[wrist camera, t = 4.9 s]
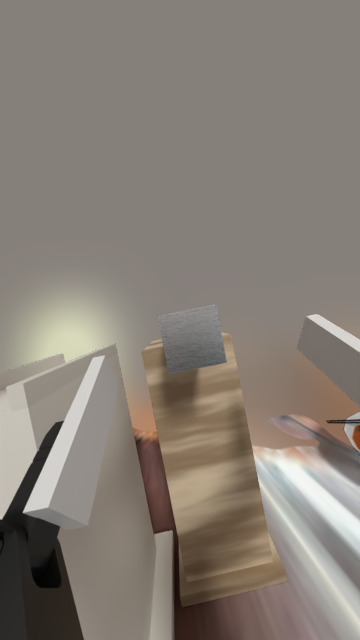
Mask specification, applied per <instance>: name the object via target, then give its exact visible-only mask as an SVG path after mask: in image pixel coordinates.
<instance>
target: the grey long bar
mask: <svg viewBox="0 0 360 640" xmlns="http://www.w3.org/2000/svg"><path fill="white" fill-rule="evenodd" d="M158 322H159V327H160V332H161V337H162V342H163V347H164V352H165V358H166V363H167V368H168V373H169V374H173V373H178V372H183V371H188V370H193V369H198V368H203V367H208V366H213V365H218V364H223V363H227V360H226V355H225V349H224V344H223V339H222V333H221V328H220V323H219V318H218V312H217V307H216V305H210V306H205V307H200V308H195V309H190V310H184V311H179V312H174V313H169V314H163V315H158Z"/></svg>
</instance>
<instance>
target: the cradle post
mask: <svg viewBox="0 0 360 640" xmlns="http://www.w3.org/2000/svg"><path fill="white" fill-rule="evenodd" d="M104 355H105V356H106V358H107V360H108V362H109V364H110V366H111V368H112V370H113V372H114V374H115V375H116V377H117V379H118V381H119V383H120V384H119V388H118V393H117V397H116V402H115V406H114V411H113V415H112V420H111V424H110V429H109V433H108V438H107V442H106V447H105V451H104V456H103V460H102V465H101V469H100V474H99V478H98V482H97V487H96V491H95V496H94V500H93V505H92V509H91V514H90V518H89V523H88V526H85V527H80V528H75V529H71V530H67V529H64V528H61V527H60V530H59V533H58V536H57V538H58V540H59V542H60V545H61V549H62V553H63V557H64V561H65V565H66V569H67V573H68V577H69V581H70V585H71V589H72V593H73V597H74V601H75V605H76V609H77V613H78V617H79V621H80V625H81V629H82V633H83V637H84V640H174V535H173V530H170V531H166V532H162V533H157V534H153V529H152V524H151V519H150V514H149V509H148V504H147V499H146V494H145V489H144V484H143V479H142V474H141V469H140V464H139V459H138V454H137V449H136V444H135V439H134V433H133V428H132V424H131V419H130V413H129V409H128V404H127V398H126V394H125V389H124V384H123V378H122V374H121V368H120V364H119V359H118V354H117V348H116V344H110V345H107V346H105V347H102V348H100V349H97V350H95V351H92V352H90V353H88V354H85V355H83V356H80V357H78V358H75V359H73V360H71V361H68V362H66V363H65V360H64V356H63V354H59V355H55V356H52V357H48V358H45V359H42V360H39V361H36V362H32V363H30V364H26V365H23V366H20V367H17V368H14V369H10V370H7V371H4V372H1V373H0V519H1V520H2V518H3V517H4V515H5V513H6V512H7V510H8V508H9V506H10V504H11V502H12V500H13V498H14V496H15V494H16V492H17V490H18V488H19V486H20V484H21V482H22V480H23V478H24V476H25V474H26V472H27V470H28V468H29V467H30V465H31V463H33V459H34V457H35V455H36V453H37V451H39V447H40V445H41V443H42V441H43V439H44V437H45V435H46V434H47V433H48V431H49V430H50V429H51V428H52V426H53V425H54V424H55V423H56V422H60V421H64V420H65V418H66V416H67V414H68V412H69V409H70V407H71V405H72V403H73V401H74V398H75V396H76V394H77V392H78V390H79V387H80V385H81V383H82V381H83V379H84V376H85V374H86V372H87V370H88V368H89V365H90V363H91V361H92V359H93V358H94V357H99V356H104Z"/></svg>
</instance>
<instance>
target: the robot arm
mask: <svg viewBox="0 0 360 640" xmlns="http://www.w3.org/2000/svg"><path fill="white" fill-rule="evenodd" d="M297 349H298V350H299V351H300V352H301V353H302V354H303V355H305V356H306V357H307V358H308V359H309V360H310V361H311V362H312V363H313V364H314V365H315V366H316V367H317V368H318V369H320V370H321V371H322V372H323V373H324V374H325V375H326V376H327V377H328V378H329V379H330V380H331V381H333V382H334V384H335V385H337V386H338V387H339V388H340V389H341V390H342V391H343V392H344V393H345V394H346V395H347V396H348V397H349V398H350V399H351V400H353V401H354V402H355V403H356V404H357V405H358V406H359V407H360V340H359V339H358V338H356V337H354V336H353V335H351V334H349V333H348V332H346V331H344V330H343V329H341V328H339V327H338V326H336V325H334V324H333V323H331V322H329V321H328V320H326V319H324V318H323V317H321V316H320V315H318V314H315V315H310V316H306V317H305V321H304V325H303V328H302V332H301V335H300V339H299V343H298V346H297ZM119 384H120V383H119V381H118V379H117V377H116V375H115V374H114V372H113V370H112V368H111V366H110V364H109V362H108V360H107V358H106V356H105V355H104V356H99V357H94V358H93V359H92V361H91V363H90V365H89V368H88V370H87V372H86V374H85V376H84V379H83V381H82V383H81V385H80V387H79V390H78V392H77V394H76V396H75V398H74V401H73V403H72V405H71V407H70V409H69V412H68V414H67V416H66V418H65V420H64V421H60V422H56V423H55V424H54V425H53V426H52V428H51V429H50V430H49V431H48V433H47V434H46V435H45V437H44V439H43V441H42V443H41V445H40V447H39V451H37V453H36V455H35V457H34V459H33V463H31V465H30V467H29V468H28V470H27V472H26V474H25V476H24V478H23V480H22V482H21V484H20V486H19V488H18V490H17V492H16V494H15V496H14V498H13V500H12V502H11V504H10V506H9V508H8V510H7V512H6V513H5V515H4V517H3V518H2V520H1V519H0V640H84V637H83V633H82V629H81V625H80V621H79V617H78V613H77V609H76V605H75V601H74V597H73V593H72V589H71V585H70V581H69V577H68V573H67V569H66V565H65V561H64V557H63V553H62V549H61V545H60V542H59V540H58V538H57V536H58V533H59V530H60V527H61V528H64V529H67V530H71V529H75V528H80V527H85V526H88V523H89V518H90V514H91V509H92V505H93V500H94V496H95V491H96V487H97V482H98V478H99V474H100V469H101V465H102V460H103V456H104V451H105V447H106V442H107V438H108V433H109V429H110V424H111V420H112V415H113V411H114V406H115V402H116V397H117V393H118V388H119Z"/></svg>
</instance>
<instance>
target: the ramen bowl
mask: <svg viewBox="0 0 360 640" xmlns="http://www.w3.org/2000/svg"><path fill="white" fill-rule="evenodd" d="M332 421H345V422H332ZM327 422H328V421H327ZM328 423H345V425H344V428H343V430H344V431H345V433H346V435H347V437H348V439H349V440H350V442H351V445H352V446H353V447H354V449H355V450H356V451H357V453H358V454H359V455H360V412H357V413H356V414H353V415H351V416H350V417H348V418H346V420H331V421H329V422H328Z"/></svg>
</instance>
